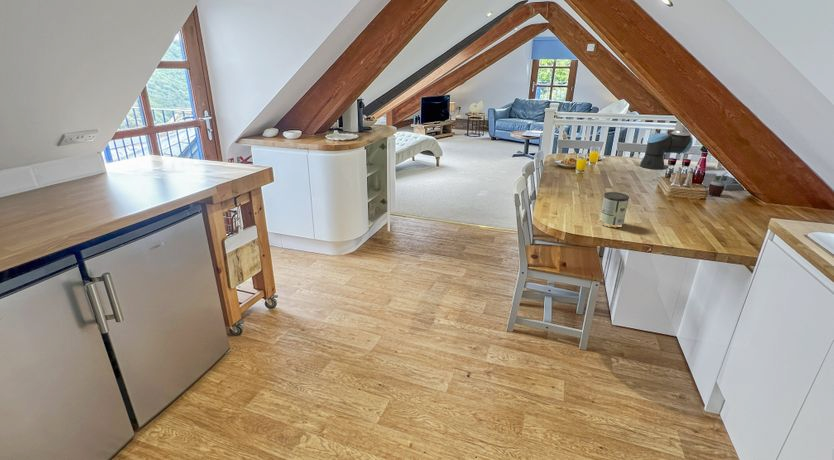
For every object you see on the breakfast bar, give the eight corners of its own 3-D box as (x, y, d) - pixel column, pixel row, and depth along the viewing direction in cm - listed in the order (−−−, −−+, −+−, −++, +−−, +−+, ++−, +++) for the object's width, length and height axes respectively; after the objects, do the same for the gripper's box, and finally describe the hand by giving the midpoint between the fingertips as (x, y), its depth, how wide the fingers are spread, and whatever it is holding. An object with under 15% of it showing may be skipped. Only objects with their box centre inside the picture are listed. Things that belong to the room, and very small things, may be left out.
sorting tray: (702, 181, 260) (703, 175, 259) (725, 181, 260) (727, 175, 259) (724, 190, 242) (726, 184, 240) (749, 190, 242) (751, 184, 241)
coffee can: (604, 218, 198) (609, 190, 192) (626, 224, 191) (632, 195, 185) (595, 224, 191) (600, 195, 185) (617, 230, 184) (623, 200, 179)
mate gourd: (710, 192, 237) (717, 167, 231) (725, 196, 231) (733, 170, 225) (703, 194, 233) (711, 169, 228) (719, 198, 227) (727, 172, 221)
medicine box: (708, 185, 251) (712, 171, 247) (713, 187, 246) (717, 173, 243) (695, 185, 251) (699, 171, 248) (699, 187, 247) (703, 173, 244)
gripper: (699, 126, 247) (690, 161, 255) (729, 132, 224) (718, 171, 232) (711, 126, 248) (702, 161, 255) (743, 132, 224) (731, 171, 232)
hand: (710, 166), depth 244 cm, fingers open, 13 cm apart
